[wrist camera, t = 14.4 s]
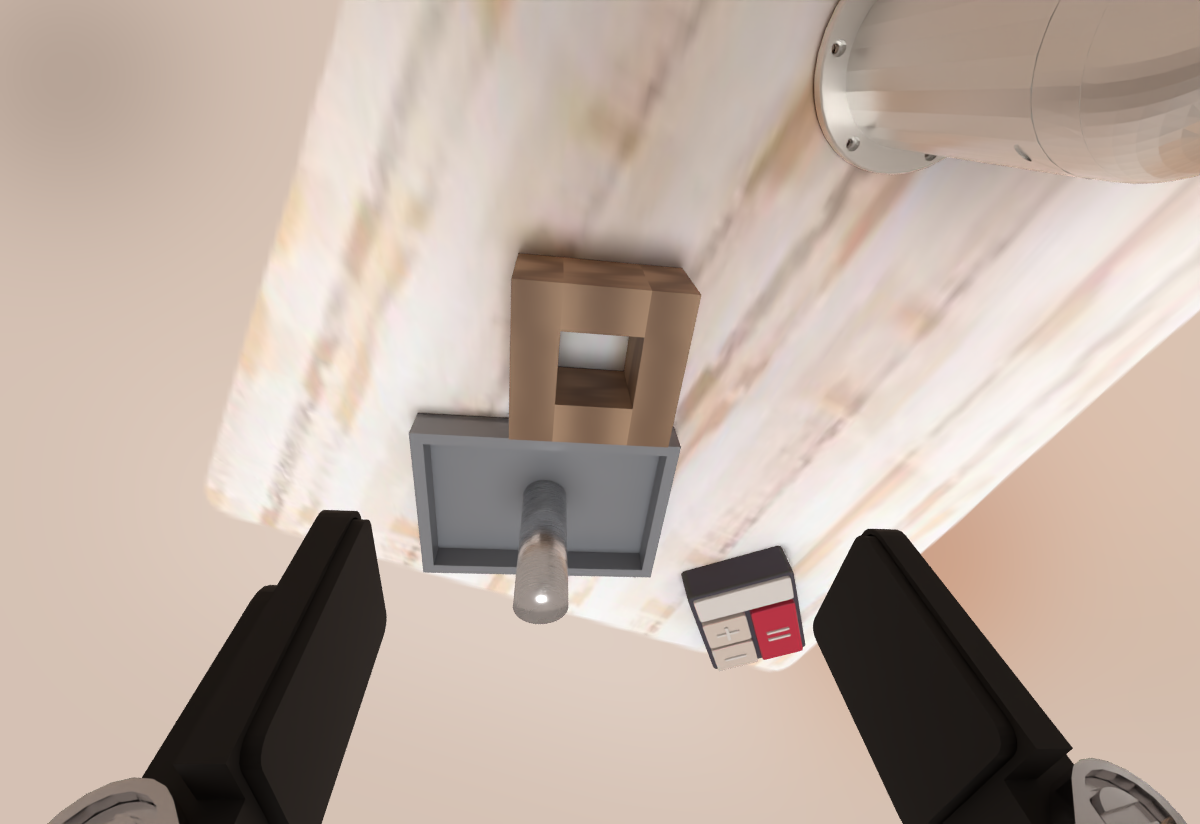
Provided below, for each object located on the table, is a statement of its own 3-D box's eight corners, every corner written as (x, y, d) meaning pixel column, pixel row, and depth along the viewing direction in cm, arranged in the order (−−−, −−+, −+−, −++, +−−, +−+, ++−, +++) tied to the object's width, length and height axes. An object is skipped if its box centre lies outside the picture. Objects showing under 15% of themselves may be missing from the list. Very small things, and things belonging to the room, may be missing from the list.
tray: (674, 427, 45) (680, 447, 42) (646, 554, 53) (650, 577, 51) (417, 413, 43) (408, 433, 40) (430, 548, 51) (423, 572, 48)
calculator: (716, 676, 60) (689, 606, 52) (706, 642, 64) (679, 570, 55) (808, 653, 59) (796, 577, 51) (793, 619, 63) (780, 543, 54)
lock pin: (568, 480, 46) (570, 589, 36) (564, 513, 48) (566, 624, 38) (523, 478, 46) (513, 588, 36) (522, 511, 48) (512, 623, 38)
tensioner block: (682, 268, 38) (701, 295, 32) (655, 406, 44) (668, 447, 39) (518, 253, 36) (511, 278, 31) (514, 398, 42) (508, 439, 37)
